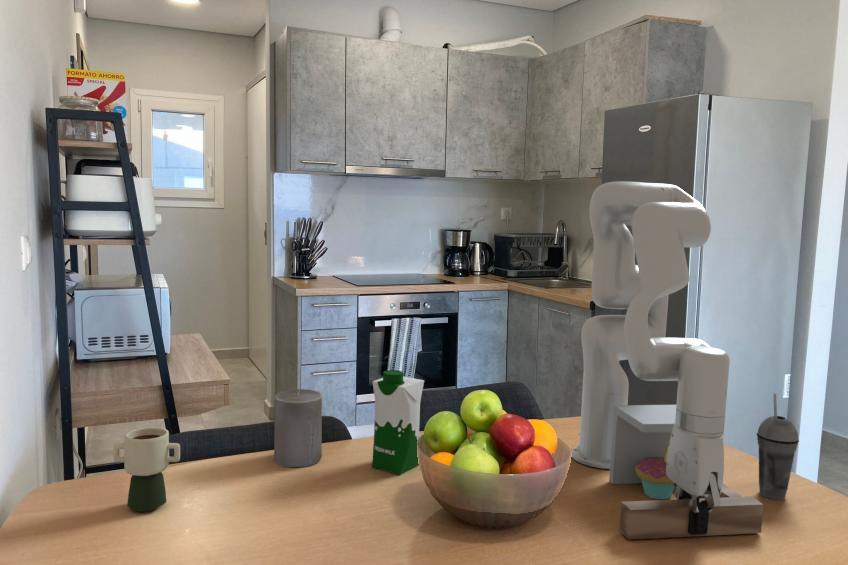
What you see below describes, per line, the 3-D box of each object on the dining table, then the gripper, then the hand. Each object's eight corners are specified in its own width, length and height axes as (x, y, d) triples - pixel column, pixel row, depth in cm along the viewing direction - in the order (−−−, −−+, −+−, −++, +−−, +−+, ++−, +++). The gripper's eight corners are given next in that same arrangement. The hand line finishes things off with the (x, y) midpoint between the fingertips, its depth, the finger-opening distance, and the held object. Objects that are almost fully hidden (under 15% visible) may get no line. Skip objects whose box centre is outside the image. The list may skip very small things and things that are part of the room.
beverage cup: (798, 505, 129) (808, 400, 127) (757, 500, 130) (766, 397, 128) (786, 490, 136) (796, 391, 134) (747, 485, 137) (755, 388, 135)
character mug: (184, 497, 122) (184, 426, 121) (175, 515, 115) (175, 440, 114) (120, 498, 121) (119, 426, 119) (106, 516, 114) (106, 440, 112)
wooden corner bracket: (577, 487, 132) (578, 462, 132) (691, 483, 136) (693, 459, 136) (628, 539, 112) (630, 510, 111) (760, 532, 116) (763, 504, 115)
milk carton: (365, 467, 139) (368, 371, 137) (391, 455, 147) (394, 363, 145) (401, 477, 135) (404, 378, 133) (425, 464, 142) (429, 369, 140)
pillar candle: (298, 448, 149) (298, 380, 148) (331, 458, 144) (332, 388, 142) (263, 460, 141) (263, 389, 140) (297, 472, 136) (297, 398, 134)
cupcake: (682, 491, 133) (687, 431, 132) (678, 507, 126) (683, 444, 124) (636, 482, 137) (640, 424, 136) (630, 498, 129) (634, 436, 128)
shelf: (609, 481, 137) (614, 405, 136) (678, 479, 140) (684, 404, 138) (637, 506, 125) (643, 424, 124) (712, 504, 128) (719, 423, 126)
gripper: (653, 407, 121) (645, 508, 123) (707, 438, 105) (697, 553, 106) (692, 407, 122) (684, 506, 124) (751, 437, 106) (741, 551, 108)
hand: (690, 527), depth 115 cm, fingers closed on wooden corner bracket, 3 cm apart
